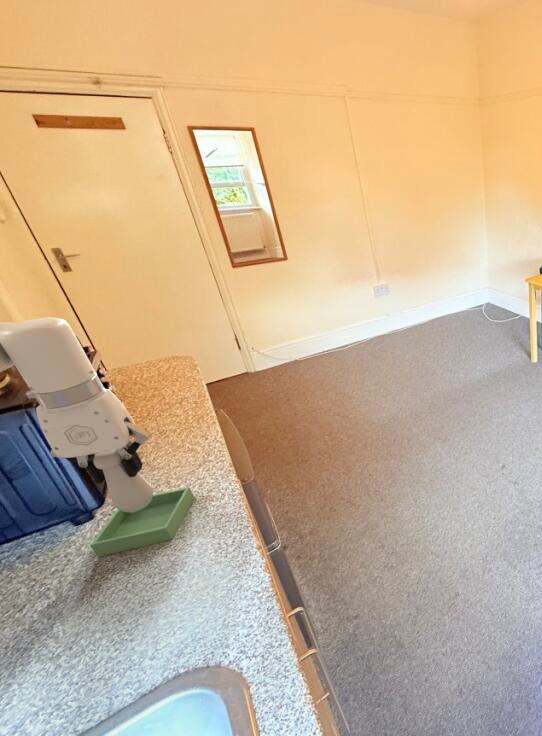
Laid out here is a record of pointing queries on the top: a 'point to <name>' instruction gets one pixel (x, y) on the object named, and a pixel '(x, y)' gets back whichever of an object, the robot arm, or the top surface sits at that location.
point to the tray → (144, 523)
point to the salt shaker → (123, 483)
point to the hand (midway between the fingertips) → (120, 474)
